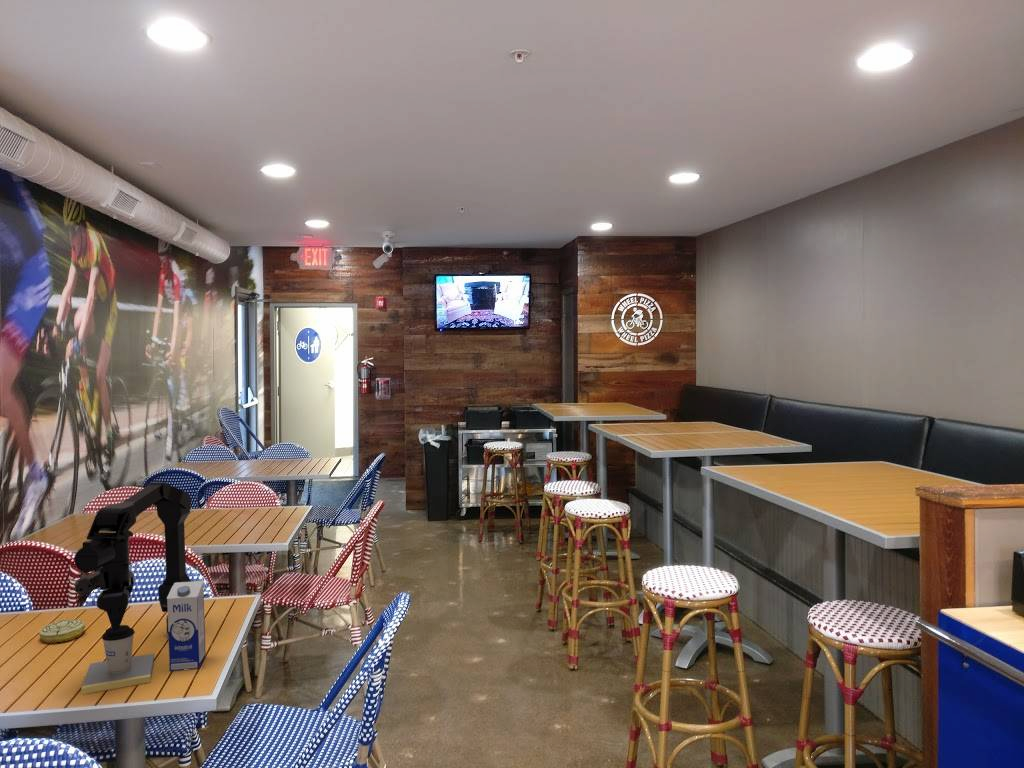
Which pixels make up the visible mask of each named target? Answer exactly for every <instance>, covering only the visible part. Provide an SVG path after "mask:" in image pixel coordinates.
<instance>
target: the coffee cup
mask: <svg viewBox="0 0 1024 768" xmlns="http://www.w3.org/2000/svg"><path fill="white" fill-rule="evenodd" d="M135 633H136V632H135V629H133V628H132V627H130V626H129V625H127V624H120V627H119V630H118V631H113V629H112V626H111V627H110V628H107V629H106V630H105V632H104V633H102V635H101V639H102V641H103V647H104V651H105V653H104V654H105V658H106V661H107V665H108V671H109V673H111V674H119V673H123V672H126V671H128V670H129V669H130V666H131V657H133V656H132V655H133V644H134V643H133V642H134V634H135Z"/></svg>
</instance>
